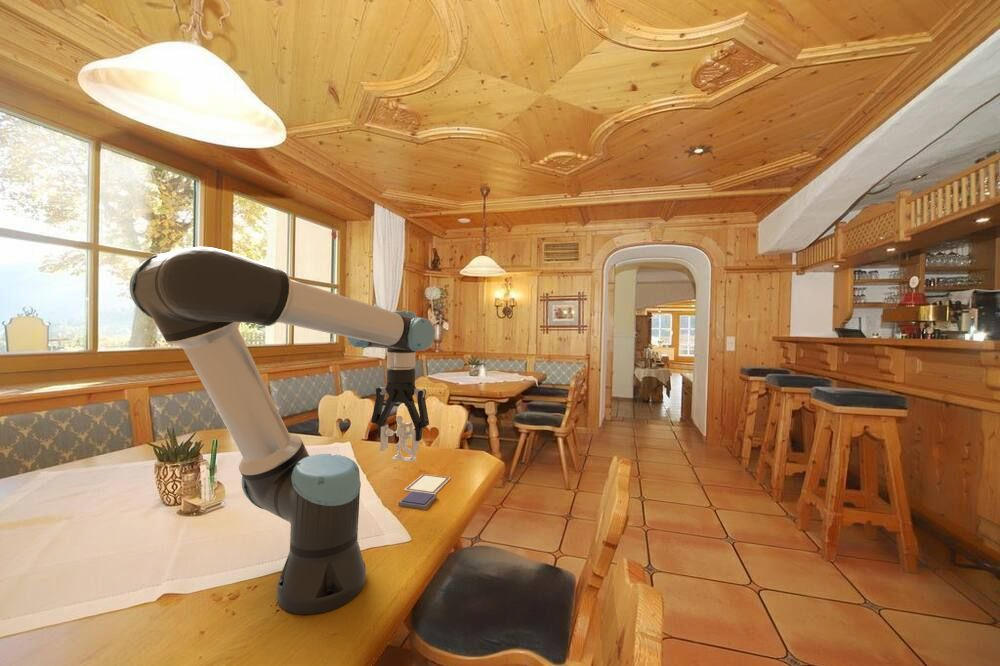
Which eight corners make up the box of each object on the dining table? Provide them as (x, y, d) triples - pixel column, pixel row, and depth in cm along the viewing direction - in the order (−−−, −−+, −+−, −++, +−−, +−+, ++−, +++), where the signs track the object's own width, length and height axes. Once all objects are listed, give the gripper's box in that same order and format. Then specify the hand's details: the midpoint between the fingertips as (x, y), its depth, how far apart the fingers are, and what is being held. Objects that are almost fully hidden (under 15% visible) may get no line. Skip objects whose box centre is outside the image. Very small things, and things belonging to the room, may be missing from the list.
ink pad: (425, 509, 108) (425, 505, 108) (398, 505, 109) (398, 501, 109) (436, 498, 115) (436, 493, 115) (411, 494, 117) (411, 490, 117)
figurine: (414, 463, 105) (416, 418, 104) (380, 461, 105) (381, 416, 105) (419, 457, 109) (420, 414, 109) (386, 455, 110) (387, 412, 110)
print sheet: (434, 494, 118) (434, 493, 118) (403, 490, 120) (403, 489, 120) (450, 478, 131) (450, 477, 131) (422, 474, 133) (422, 473, 133)
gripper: (443, 368, 108) (441, 450, 109) (373, 364, 113) (371, 443, 113) (432, 371, 101) (430, 459, 101) (358, 367, 105) (356, 451, 106)
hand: (399, 450), depth 107 cm, fingers closed on figurine, 8 cm apart
